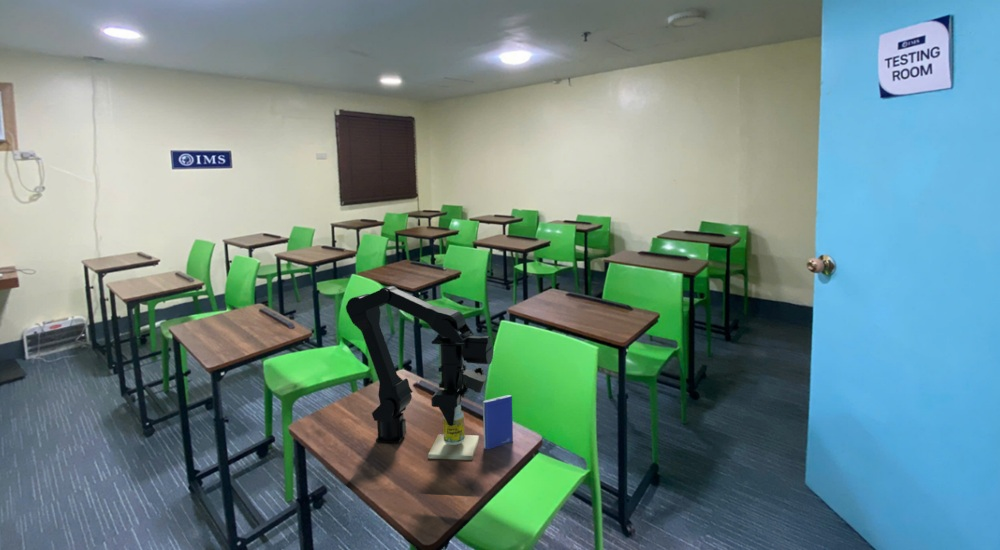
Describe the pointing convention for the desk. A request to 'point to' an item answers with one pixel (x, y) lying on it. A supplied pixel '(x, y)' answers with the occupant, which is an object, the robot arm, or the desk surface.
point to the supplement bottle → (454, 428)
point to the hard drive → (497, 421)
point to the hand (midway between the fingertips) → (453, 420)
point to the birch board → (454, 448)
